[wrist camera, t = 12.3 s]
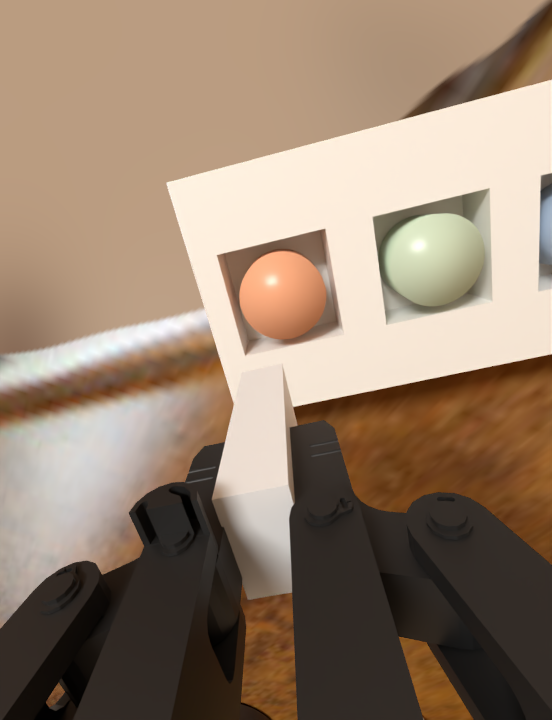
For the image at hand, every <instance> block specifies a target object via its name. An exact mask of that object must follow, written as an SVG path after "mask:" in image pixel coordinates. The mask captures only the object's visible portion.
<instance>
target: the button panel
mask: <svg viewBox="0 0 552 720" xmlns="http://www.w3.org/2000/svg"><path fill="white" fill-rule="evenodd" d="M166 184H167V187H168V190H169V194H170V197H171V200H172V203H173V207H174V209H175V213H176V216H177V220H178V223H179V226H180V229H181V233H182V236H183V239H184V243H185V245H186V249H187V252H188V255H189V259H190V262H191V265H192V268H193V272H194V275H195V278H196V281H197V285H198V288H199V291H200V294H201V298H202V301H203V304H204V308H205V311H206V314H207V317H208V321H209V324H210V327H211V330H212V334H213V337H214V340H215V343H216V347H217V350H218V353H219V356H220V360H221V363H222V366H223V369H224V373H225V376H226V379H227V382H228V386H229V389H230V392H231V395H232V399H233V402H234V403H235V399H236V395H237V390H238V386H239V382H240V378H241V374H242V372H246V371H250V370H255V369H259V368H264V367H268V366H272V365H277V364H281V363H282V364H283V368H284V373H285V377H286V381H287V385H288V389H289V393H290V397H291V401H292V405H293V407H295V406H300V405H305V404H310V403H315V402H320V401H325V400H329V399H334V398H339V397H344V396H349V395H354V394H359V393H364V392H369V391H373V390H378V389H383V388H388V387H393V386H398V385H403V384H408V383H413V382H418V381H422V380H427V379H432V378H437V377H442V376H447V375H452V374H457V373H462V372H467V371H471V370H476V369H481V368H486V367H491V366H496V365H501V364H506V363H511V362H516V361H520V360H525V359H530V358H535V357H540V356H545V355H550V354H552V265H547V264H542V263H539V235H540V191H541V190H543V189H544V188H545V187H547V186H548V185H550V184H552V80H549V81H546V82H542V83H538V84H535V85H531V86H527V87H523V88H520V89H516V90H512V91H508V92H505V93H501V94H497V95H493V96H490V97H486V98H482V99H478V100H475V101H471V102H467V103H463V104H460V105H456V106H452V107H448V108H445V109H441V110H437V111H433V112H430V113H426V114H422V115H418V116H415V117H411V118H407V119H403V120H400V121H396V122H392V123H389V124H385V125H381V126H377V127H373V128H370V129H366V130H363V131H359V132H355V133H351V134H347V135H344V136H340V137H336V138H332V139H329V140H325V141H321V142H317V143H313V144H310V145H306V146H302V147H298V148H295V149H291V150H287V151H284V152H280V153H276V154H273V155H269V156H265V157H261V158H257V159H254V160H250V161H246V162H242V163H239V164H235V165H231V166H227V167H224V168H220V169H216V170H212V171H209V172H205V173H201V174H197V175H193V176H190V177H186V178H182V179H179V180H175V181H171V182H167V183H166ZM444 213H449V214H456V215H459V216H462V217H464V218H466V219H467V220H469V221H470V222H471V223H473V224H474V225H475V227H476V228H477V229H478V231H479V232H480V234H481V236H482V239H483V242H484V249H485V258H484V264H483V267H482V270H481V273H480V275H479V277H478V279H477V280H476V282H475V283H474V285H473V286H472V287H471V288H470V289H469V290H468V291H467V292H466V293H465V294H464V295H463V296H461V297H460V298H458V299H457V300H455V301H453V302H451V303H448V304H445V305H441V306H423V305H419V304H417V303H414V302H412V301H411V300H409V299H407V298H405V297H404V296H402V295H400V294H399V293H397V292H395V291H394V290H392V289H391V288H390V287H388V286H387V284H386V283H385V282H384V281H383V279H382V277H381V275H380V271H379V263H378V254H379V249H380V246H381V243H382V241H383V239H384V238H385V236H386V234H387V233H388V232H389V231H390V229H391V228H392V227H393V226H395V225H396V224H397V223H399V222H400V221H402V220H404V219H406V218H408V217H411V216H415V215H425V214H444ZM275 249H290V250H294V251H296V252H299V253H301V254H302V255H304V256H305V257H306V258H308V259H309V260H310V261H311V263H312V264H313V265H314V266H315V267H316V269H317V270H318V271H319V273H320V274H321V276H322V278H323V281H324V284H325V288H326V304H325V308H324V311H323V314H322V316H321V317H320V319H319V321H318V322H317V323H316V325H315V326H314V327H313V328H312V329H310V330H309V331H308V332H306V333H305V334H303V335H301V336H298V337H295V338H292V339H274V338H270V337H267V336H264V335H263V334H261V333H259V332H258V331H256V330H255V329H254V328H253V327H252V326H251V325H250V324H249V323H248V322H247V320H246V319H245V317H244V315H243V313H242V310H241V306H240V299H239V294H240V287H241V283H242V280H243V278H244V276H245V274H246V273H247V271H248V269H249V268H250V266H251V265H252V263H253V262H254V261H255V260H256V259H257V258H258V257H260V256H261V255H263V254H264V253H266V252H268V251H271V250H275Z"/></svg>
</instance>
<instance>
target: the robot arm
mask: <svg viewBox="0 0 552 720" xmlns="http://www.w3.org/2000/svg"><path fill="white" fill-rule="evenodd" d="M129 515H130V517H131V519H132V521H133V523H134V525H135V527H136V529H137V532H138V534H139V536H140V538H141V540H142V542H143V544H144V548H143V551H142V553H141V556H140V557H139V558H138V559H136V560H134V561H132V562H130V563H128V564H126V565H123V566H121V567H119V568H117V569H115V570H112V571H110V572H108V573H106V574H103V575H102V574H101V572H100V570H99V569H98V567H97V565H96V563H93V562H90V561H82V562H75V563H73V564H70V565H68V566H66V567H63V568H61V569H60V570H58V571H57V572H55V573H54V574H52V575H51V576H49V577H48V578H46V579H45V580H44V581H43V582H42V583H41V584H40V585H39V586H38V587H37V588H36V589H35V590H34V591H33V592H32V593H31V594H30V595H29V597H28V598H27V599H26V600H25V601H24V602H23V603H22V605H21V606H20V607H19V608H18V609H17V610H16V611H15V613H14V614H13V615H12V616H11V617H10V618H9V620H8V621H7V622H6V623H5V624H4V625H3V626H2V628H1V629H0V720H270V719H268V718H267V717H266V716H265V715H263V714H262V713H260V712H259V711H257V710H255V709H253V708H251V707H248V706H245V705H242V704H241V691H242V677H243V663H244V649H245V635H246V623H245V615H244V613H243V610H242V608H241V605H240V599H241V589H242V584H243V587H244V589H245V592H246V595H247V598H248V600H250V599H256V598H261V597H267V596H273V595H279V594H285V593H290V592H292V599H293V622H294V645H295V668H296V692H297V715H298V720H423V717H422V713H421V710H420V707H419V703H418V700H417V697H416V693H415V690H414V687H413V683H412V680H411V677H410V673H409V670H408V667H407V663H406V660H405V657H404V653H403V650H402V647H401V643H400V640H399V637H404V638H409V639H414V640H419V641H424V642H427V644H428V646H429V647H430V649H431V651H432V652H433V654H434V656H435V657H436V659H437V660H438V662H439V664H440V665H441V667H442V669H443V670H444V672H445V673H446V675H447V677H448V678H449V680H450V682H451V683H452V685H453V686H454V688H455V690H456V691H457V693H458V695H459V696H460V698H461V699H462V701H463V703H464V704H465V706H466V708H467V709H468V711H469V712H470V714H471V716H472V717H473V719H474V720H552V565H551V564H550V563H549V562H548V561H546V560H545V559H544V558H543V557H542V556H541V555H539V554H538V553H537V552H536V551H535V550H534V549H532V548H531V547H530V546H529V545H528V544H527V543H525V542H524V541H523V540H522V539H521V538H520V537H518V536H517V535H516V534H515V533H514V532H513V531H511V530H510V529H509V528H508V527H507V526H506V525H504V524H503V523H502V522H501V521H500V520H499V519H497V518H496V517H495V516H494V515H493V514H492V513H490V512H489V511H488V510H487V509H486V508H485V507H483V506H482V505H480V504H479V503H477V502H475V501H474V500H472V499H471V498H468V497H465V496H461V495H458V494H455V493H441V492H437V493H433V494H428V495H424V496H422V497H421V498H419V499H417V500H416V501H414V502H413V503H412V504H411V506H410V507H409V509H408V511H407V513H397V512H387V511H381V510H377V509H375V508H372V507H369V506H367V505H366V504H364V503H363V502H361V501H360V500H359V499H358V498H357V497H356V496H355V494H354V492H353V490H352V487H351V483H350V480H349V476H348V473H347V470H346V466H345V463H344V459H343V456H342V453H341V449H340V446H339V443H338V439H337V436H336V432H335V429H334V428H333V427H332V426H331V425H330V424H328V423H327V422H326V421H324V420H323V421H318V422H313V423H308V424H304V425H299V426H298V425H297V421H296V417H295V413H294V409H293V405H292V401H291V397H290V393H289V389H288V385H287V381H286V377H285V373H284V368H283V364H282V363H281V364H277V365H272V366H268V367H264V368H259V369H255V370H250V371H246V372H242V374H241V378H240V382H239V386H238V390H237V395H236V399H235V403H234V407H233V412H232V416H231V420H230V424H229V429H228V433H227V437H226V441H225V442H223V443H219V444H214V445H209V446H204V447H203V448H202V450H201V451H200V452H199V453H198V454H197V455H196V456H195V457H194V459H193V461H192V464H191V467H190V470H189V474H188V475H187V478H186V481H185V482H175V483H170V484H167V485H164V486H160V487H158V488H156V489H155V490H153V491H151V492H149V493H147V494H146V495H145V496H144V497H143V498H141V499H140V500H139V501H138V502H137V503H136V504H135V505H134V507H133V508H132V509H131V511H130V512H129ZM398 636H399V637H398ZM58 682H59V683H60V685H61V686H62V688H63V689H64V691H65V693H64V694H63V696H62V697H61V698H60V699H59V701H58V702H57V703H56V704H55V705H53V706H51V707H48V705H47V704H46V703H45V702H46V700H47V699H48V697H49V696H50V694H51V693H52V691H53V690H54V688H55V687H56V685H57V684H58Z"/></svg>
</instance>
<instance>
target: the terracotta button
mask: <svg viewBox="0 0 552 720" xmlns="http://www.w3.org/2000/svg"><path fill="white" fill-rule="evenodd" d="M239 299H240V306H241V310H242V313H243V315H244V317H245V319H246V320H247V322H248V323H249V324H250V325H251V326H252V327H253V328H254V329H255V330H256V331H258V332H259V333H261V334H263V335H264V336H267V337H270V338H274V339H292V338H295V337H298V336H301V335H303V334H305V333H306V332H308V331H309V330H310V329H312V328H313V327H314V326H315V325H316V323H317V322H318V321H319V319H320V317H321V316H322V314H323V311H324V308H325V304H326V288H325V284H324V281H323V278H322V276H321V274H320V273H319V271H318V270H317V269H316V267H315V266H314V265H313V264H312V263H311V261H310V260H309V259H308V258H306V257H305V256H304V255H302V254H301V253H299V252H296V251H294V250H290V249H275V250H271V251H268V252H266V253H264V254H263V255H261V256H260V257H258V258H257V259H256V260H255V261H254V262H253V263H252V265H251V266H250V268H249V269H248V271H247V273H246V274H245V276H244V278H243V280H242V283H241V287H240V294H239Z"/></svg>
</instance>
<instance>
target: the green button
mask: <svg viewBox="0 0 552 720" xmlns="http://www.w3.org/2000/svg"><path fill="white" fill-rule="evenodd" d="M484 258H485V249H484V242H483V239H482V236H481V234H480V232H479V231H478V229H477V228H476V227H475V225H474V224H473V223H471V222H470V221H469V220H467V219H466V218H464V217H462V216H459V215H456V214H449V213H444V214H425V215H415V216H411V217H408V218H406V219H404V220H402V221H400V222H399V223H397V224H396V225H395V226H393V227H392V228H391V229H390V231H389V232H388V233H387V234H386V236H385V238H384V239H383V241H382V243H381V246H380V249H379V254H378V263H379V271H380V275H381V277H382V279H383V281H384V282H385V283H386V284H387V286H388V287H390V288H391V289H392V290H394V291H395V292H397V293H399V294H400V295H402V296H404V297H405V298H407V299H409V300H411V301H412V302H414V303H417V304H419V305H423V306H441V305H445V304H448V303H451V302H453V301H455V300H457V299H458V298H460V297H461V296H463V295H464V294H465V293H466V292H467V291H468V290H469V289H470V288H471V287H472V286H473V285H474V283H475V282H476V280H477V279H478V277H479V275H480V273H481V270H482V267H483V264H484Z"/></svg>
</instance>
